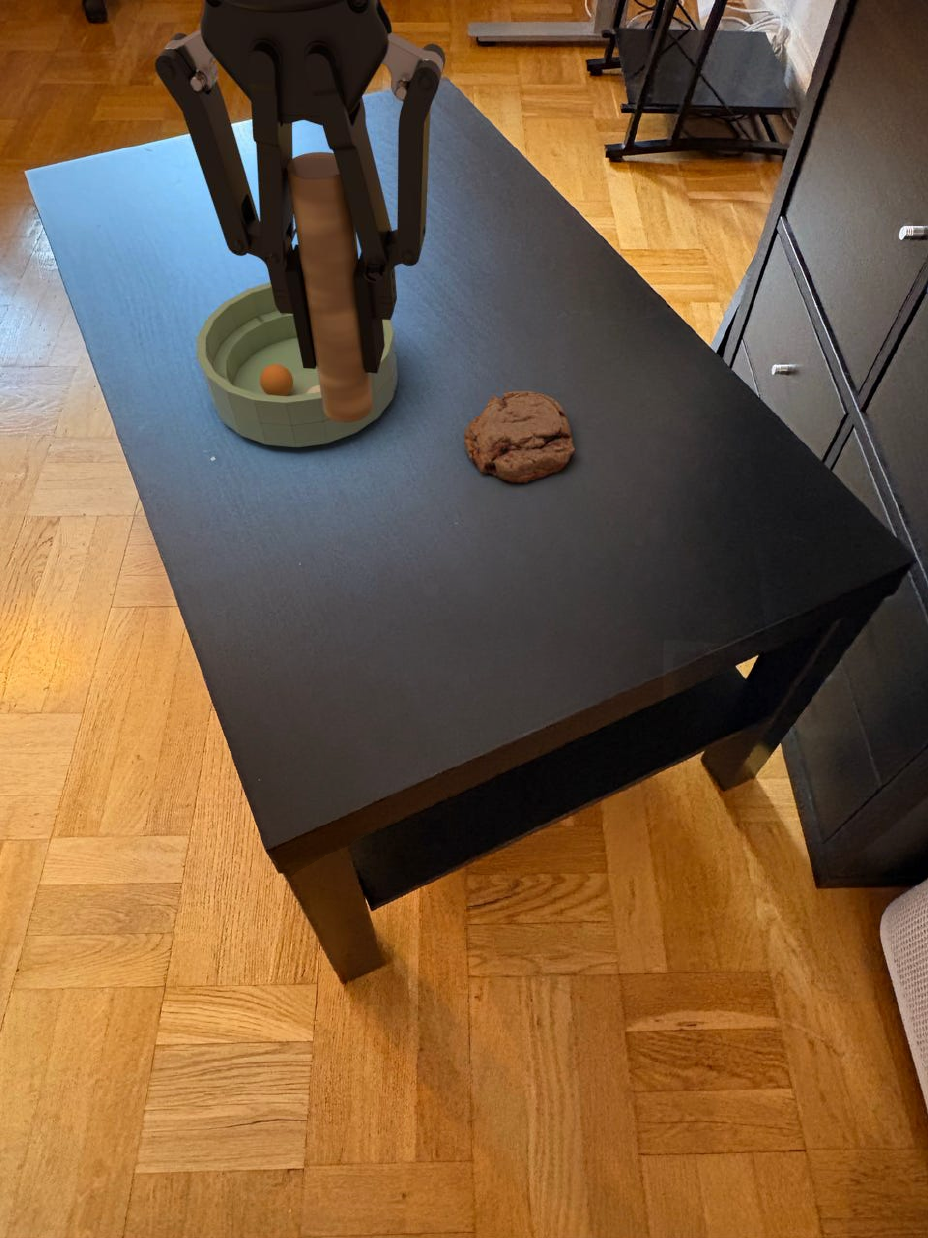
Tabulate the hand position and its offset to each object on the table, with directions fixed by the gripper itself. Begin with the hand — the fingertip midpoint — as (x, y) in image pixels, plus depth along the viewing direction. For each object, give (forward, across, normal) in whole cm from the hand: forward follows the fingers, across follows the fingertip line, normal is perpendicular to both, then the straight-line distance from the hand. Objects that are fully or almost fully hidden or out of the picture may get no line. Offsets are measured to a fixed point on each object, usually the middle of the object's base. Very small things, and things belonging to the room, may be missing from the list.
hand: (344, 355), depth 52 cm
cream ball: (+18, +8, -16) cm, 25 cm away
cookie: (+20, -11, -15) cm, 27 cm away
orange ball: (+18, +12, -18) cm, 28 cm away
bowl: (+20, +10, -20) cm, 30 cm away
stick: (+3, 0, +1) cm, 3 cm away
